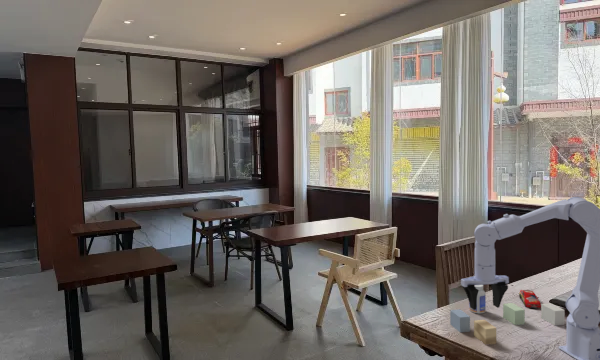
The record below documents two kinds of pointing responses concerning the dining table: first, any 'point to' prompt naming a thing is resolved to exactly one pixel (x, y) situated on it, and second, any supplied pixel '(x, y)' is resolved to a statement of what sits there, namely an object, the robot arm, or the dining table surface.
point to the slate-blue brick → (460, 320)
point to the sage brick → (514, 314)
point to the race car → (529, 299)
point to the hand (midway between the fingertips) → (484, 307)
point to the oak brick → (485, 332)
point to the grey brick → (552, 314)
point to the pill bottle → (480, 301)
